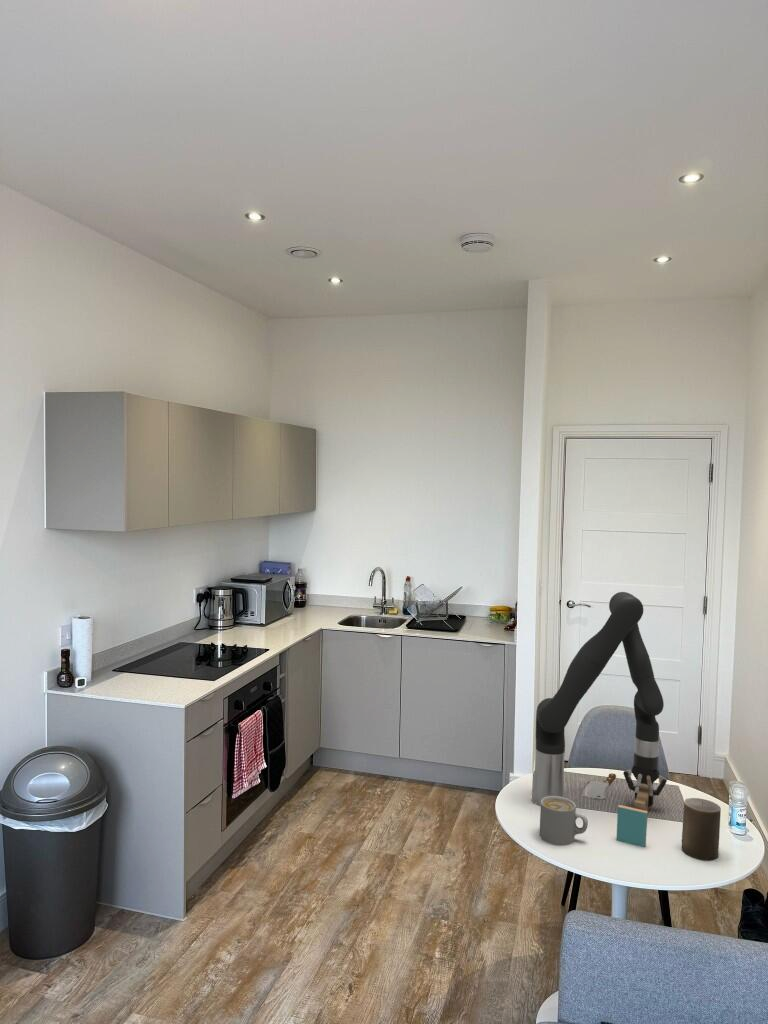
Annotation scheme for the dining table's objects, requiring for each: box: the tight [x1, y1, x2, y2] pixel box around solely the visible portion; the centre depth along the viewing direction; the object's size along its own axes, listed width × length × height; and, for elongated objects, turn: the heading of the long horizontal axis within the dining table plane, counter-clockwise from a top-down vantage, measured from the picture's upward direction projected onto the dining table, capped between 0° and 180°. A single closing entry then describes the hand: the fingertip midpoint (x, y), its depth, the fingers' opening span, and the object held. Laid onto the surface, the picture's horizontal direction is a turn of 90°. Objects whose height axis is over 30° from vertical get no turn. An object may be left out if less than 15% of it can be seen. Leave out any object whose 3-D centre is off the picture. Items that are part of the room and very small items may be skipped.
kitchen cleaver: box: [588, 773, 617, 802], centre depth 248 cm, size 24×1×10 cm
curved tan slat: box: [633, 784, 650, 811], centre depth 231 cm, size 22×3×6 cm, turn 153°
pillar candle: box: [681, 797, 722, 861], centre depth 204 cm, size 10×10×15 cm
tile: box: [615, 804, 649, 848], centre depth 208 cm, size 8×2×10 cm, turn 63°
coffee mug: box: [538, 796, 588, 846], centre depth 209 cm, size 13×10×10 cm
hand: (643, 804), depth 231 cm, fingers closed on curved tan slat, 3 cm apart
